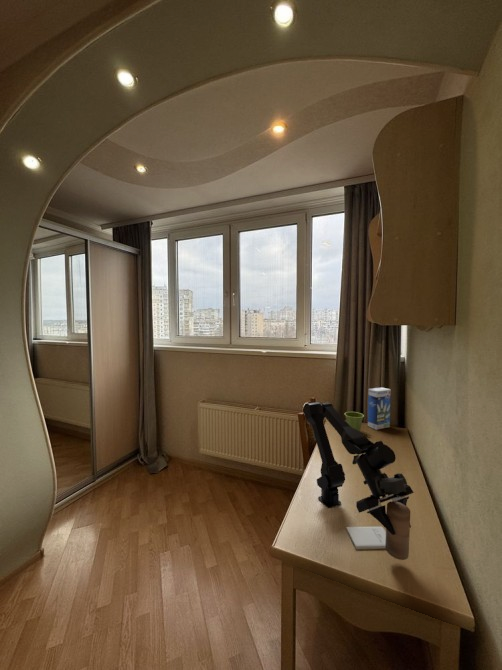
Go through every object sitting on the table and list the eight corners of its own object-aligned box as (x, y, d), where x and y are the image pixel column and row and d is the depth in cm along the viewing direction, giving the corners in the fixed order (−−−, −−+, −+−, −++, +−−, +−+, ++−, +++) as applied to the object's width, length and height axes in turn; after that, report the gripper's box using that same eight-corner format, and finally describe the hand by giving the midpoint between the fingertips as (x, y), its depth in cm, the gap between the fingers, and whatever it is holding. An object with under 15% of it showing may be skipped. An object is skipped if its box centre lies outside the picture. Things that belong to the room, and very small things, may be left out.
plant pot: (361, 428, 180) (362, 412, 179) (365, 436, 168) (365, 418, 168) (343, 427, 183) (343, 410, 182) (345, 434, 171) (345, 416, 171)
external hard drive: (345, 530, 93) (381, 530, 93) (355, 551, 84) (395, 550, 85) (345, 526, 92) (381, 525, 93) (355, 546, 84) (395, 545, 85)
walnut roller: (381, 542, 82) (382, 501, 82) (400, 542, 83) (402, 500, 82) (392, 560, 76) (394, 516, 76) (413, 559, 77) (415, 515, 76)
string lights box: (376, 430, 178) (377, 391, 177) (367, 426, 185) (367, 388, 184) (390, 426, 184) (391, 389, 182) (380, 423, 190) (381, 386, 189)
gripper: (364, 472, 78) (397, 537, 69) (409, 459, 85) (444, 516, 76) (344, 483, 86) (371, 543, 76) (386, 470, 93) (416, 523, 84)
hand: (401, 531), depth 78 cm, fingers closed on walnut roller, 6 cm apart
